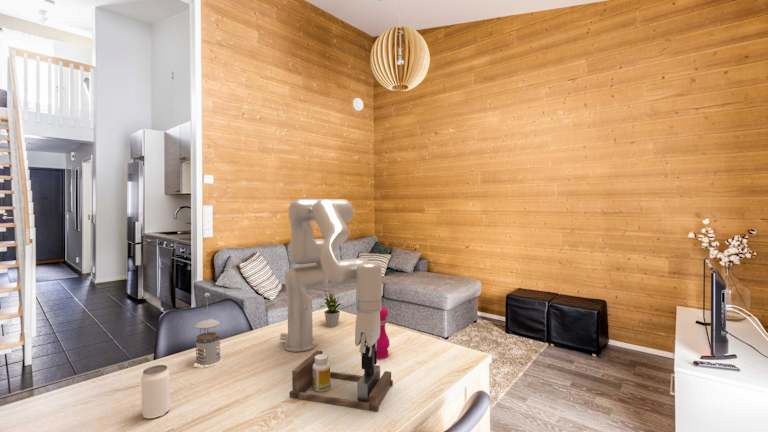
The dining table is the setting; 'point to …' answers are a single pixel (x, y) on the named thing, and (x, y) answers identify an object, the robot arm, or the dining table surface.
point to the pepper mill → (382, 336)
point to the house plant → (331, 310)
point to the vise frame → (304, 378)
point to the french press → (207, 342)
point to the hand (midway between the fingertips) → (369, 365)
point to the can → (155, 391)
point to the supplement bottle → (321, 373)
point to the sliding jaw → (368, 381)
